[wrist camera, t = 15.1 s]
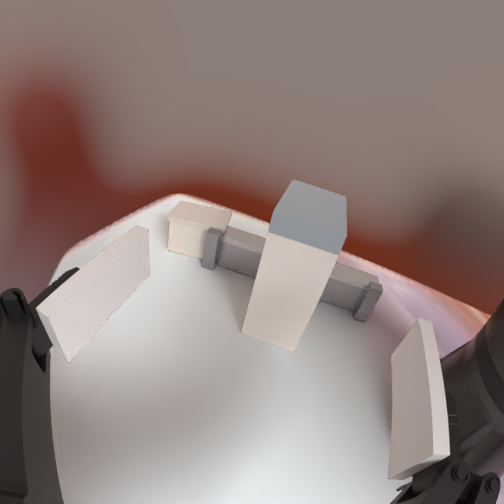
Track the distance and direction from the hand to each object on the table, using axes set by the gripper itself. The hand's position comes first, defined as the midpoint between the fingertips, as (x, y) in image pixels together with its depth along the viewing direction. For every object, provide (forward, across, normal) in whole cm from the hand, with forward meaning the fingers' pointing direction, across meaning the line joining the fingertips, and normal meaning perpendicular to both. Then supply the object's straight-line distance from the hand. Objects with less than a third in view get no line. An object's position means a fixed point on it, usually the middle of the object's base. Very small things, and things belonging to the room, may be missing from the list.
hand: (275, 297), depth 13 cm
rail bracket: (+16, 0, -12) cm, 20 cm away
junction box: (+17, -11, -11) cm, 23 cm away
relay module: (+11, 0, -12) cm, 16 cm away
